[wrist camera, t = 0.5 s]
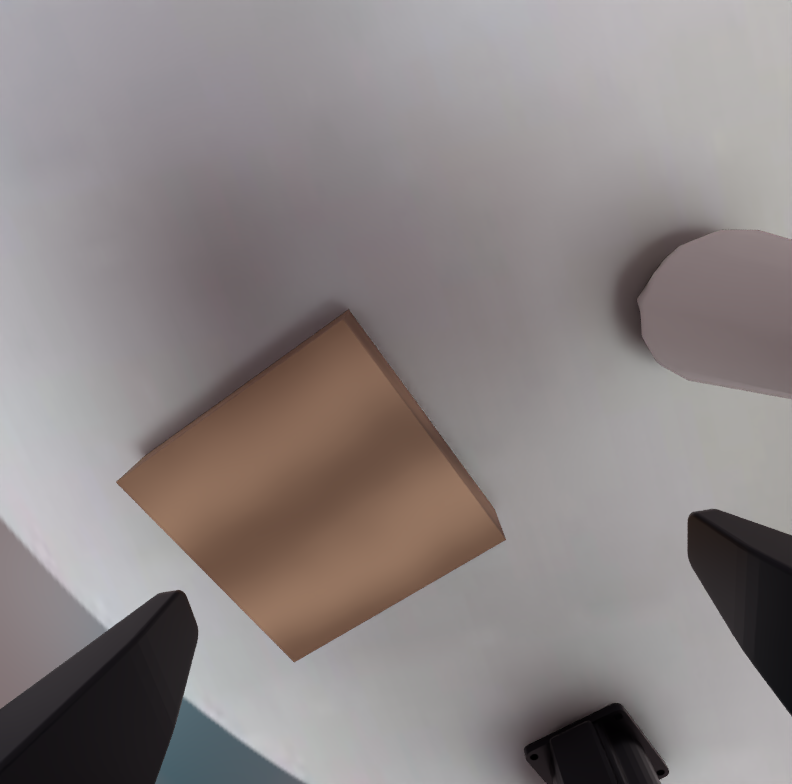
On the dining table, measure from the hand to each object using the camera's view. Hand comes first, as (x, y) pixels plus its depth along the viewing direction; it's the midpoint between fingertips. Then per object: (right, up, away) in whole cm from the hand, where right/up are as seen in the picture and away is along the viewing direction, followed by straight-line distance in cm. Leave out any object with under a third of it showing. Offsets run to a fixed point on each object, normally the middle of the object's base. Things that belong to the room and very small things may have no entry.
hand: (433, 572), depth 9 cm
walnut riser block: (-4, -1, +15) cm, 16 cm away
